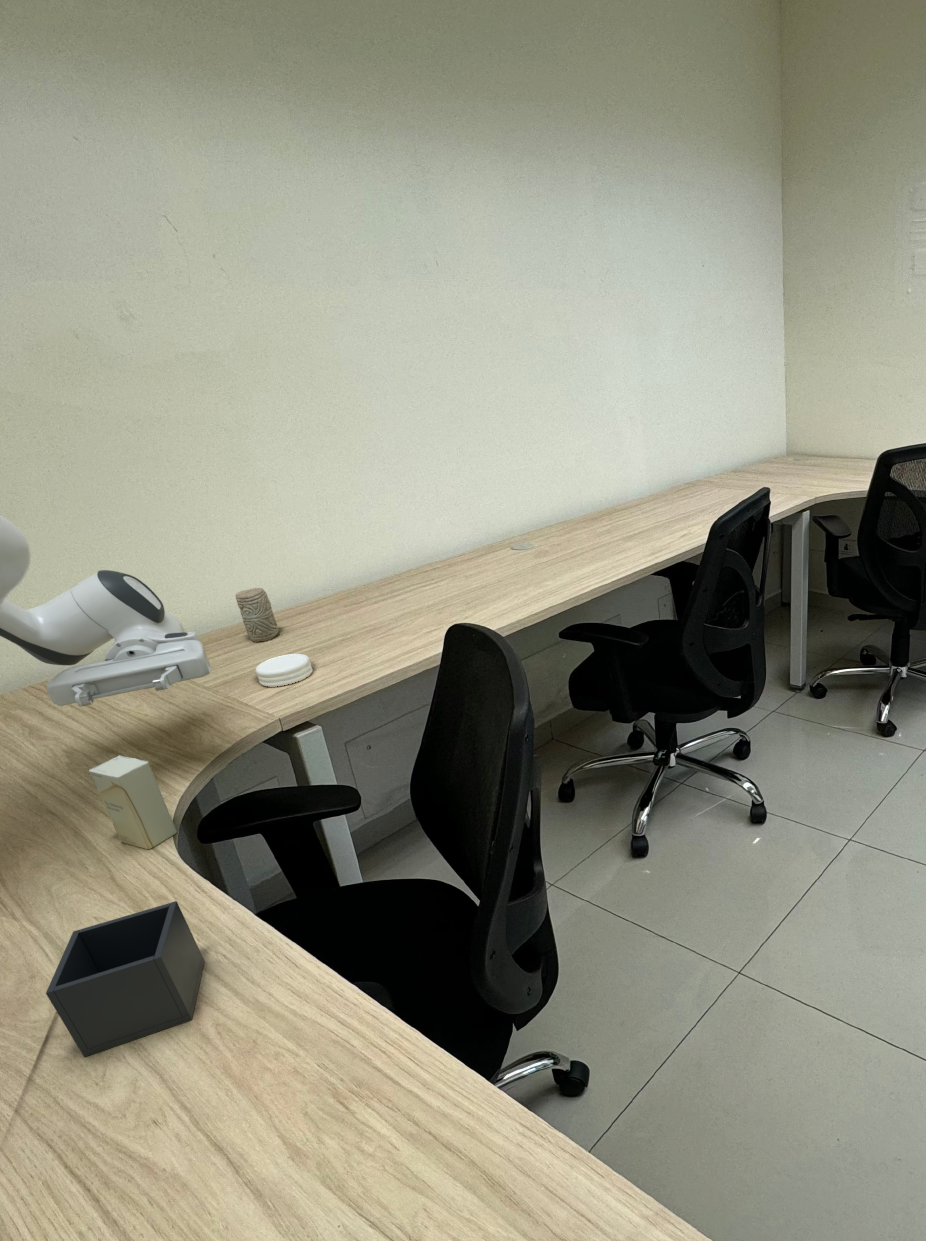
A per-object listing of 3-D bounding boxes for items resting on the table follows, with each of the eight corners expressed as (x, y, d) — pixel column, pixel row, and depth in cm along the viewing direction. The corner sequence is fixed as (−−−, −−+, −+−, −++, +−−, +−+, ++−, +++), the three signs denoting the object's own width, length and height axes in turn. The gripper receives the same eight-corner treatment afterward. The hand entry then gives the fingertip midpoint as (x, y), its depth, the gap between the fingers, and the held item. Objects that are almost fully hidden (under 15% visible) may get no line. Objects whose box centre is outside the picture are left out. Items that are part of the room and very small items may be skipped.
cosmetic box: (120, 842, 108) (85, 770, 103) (151, 824, 112) (118, 754, 107) (150, 850, 106) (115, 777, 101) (180, 831, 110) (148, 760, 105)
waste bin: (83, 1057, 75) (45, 993, 71) (106, 992, 83) (72, 931, 79) (192, 1020, 79) (160, 956, 75) (204, 960, 86) (176, 900, 82)
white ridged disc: (310, 663, 165) (305, 648, 164) (315, 678, 158) (311, 663, 156) (258, 676, 160) (253, 661, 159) (261, 692, 153) (255, 676, 151)
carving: (245, 645, 178) (228, 597, 172) (256, 634, 184) (240, 587, 179) (274, 641, 179) (258, 594, 174) (284, 630, 185) (269, 584, 180)
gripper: (53, 657, 117) (23, 691, 106) (206, 629, 125) (193, 658, 114) (71, 693, 120) (44, 730, 109) (219, 663, 128) (208, 695, 116)
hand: (122, 693), depth 111 cm, fingers open, 8 cm apart
